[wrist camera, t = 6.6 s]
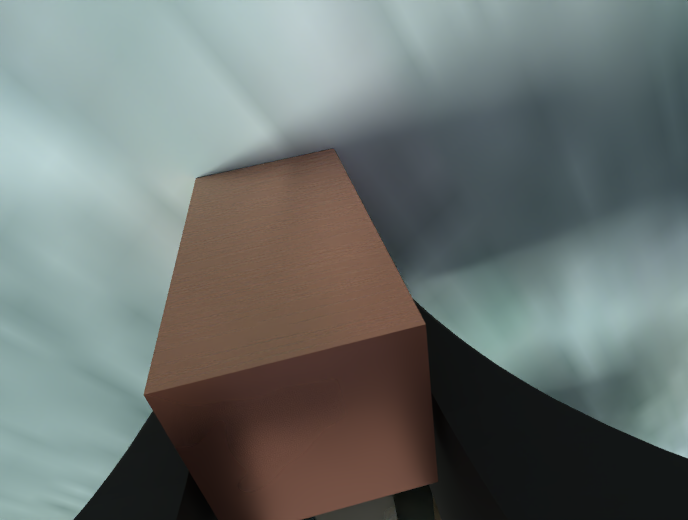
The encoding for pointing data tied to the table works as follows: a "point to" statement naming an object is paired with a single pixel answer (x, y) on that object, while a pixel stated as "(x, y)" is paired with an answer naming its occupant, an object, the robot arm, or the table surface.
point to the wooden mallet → (292, 351)
